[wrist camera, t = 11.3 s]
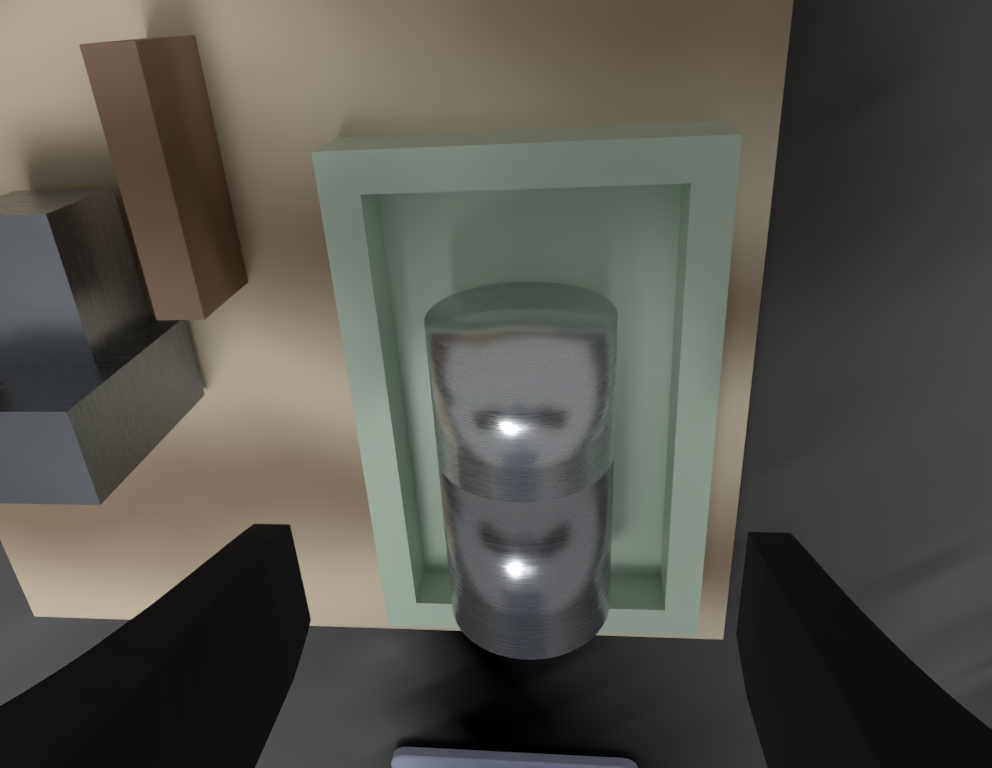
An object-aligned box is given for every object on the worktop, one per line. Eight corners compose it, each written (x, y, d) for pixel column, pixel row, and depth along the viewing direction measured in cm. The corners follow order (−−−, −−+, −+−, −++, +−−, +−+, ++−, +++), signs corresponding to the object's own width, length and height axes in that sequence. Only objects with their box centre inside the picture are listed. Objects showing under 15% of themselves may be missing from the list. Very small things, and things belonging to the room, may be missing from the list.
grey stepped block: (204, 394, 18) (100, 505, 14) (65, 395, 18) (-74, 502, 14) (149, 183, 16) (6, 245, 12) (-9, 189, 16) (-197, 250, 12)
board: (717, 612, 21) (723, 639, 20) (55, 592, 23) (34, 616, 22) (823, -419, 11) (843, -455, 11) (-314, -281, 14) (-375, -301, 13)
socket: (248, 282, 17) (204, 319, 15) (-31, 287, 17) (-108, 324, 16) (195, 35, 14) (134, 40, 12) (-123, 54, 15) (-226, 62, 13)
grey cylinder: (610, 551, 19) (609, 665, 15) (466, 544, 19) (437, 653, 16) (617, 281, 15) (618, 356, 12) (445, 281, 16) (403, 352, 13)
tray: (688, 589, 19) (697, 636, 18) (401, 582, 20) (388, 626, 19) (725, 120, 14) (741, 134, 13) (336, 137, 15) (311, 152, 14)
